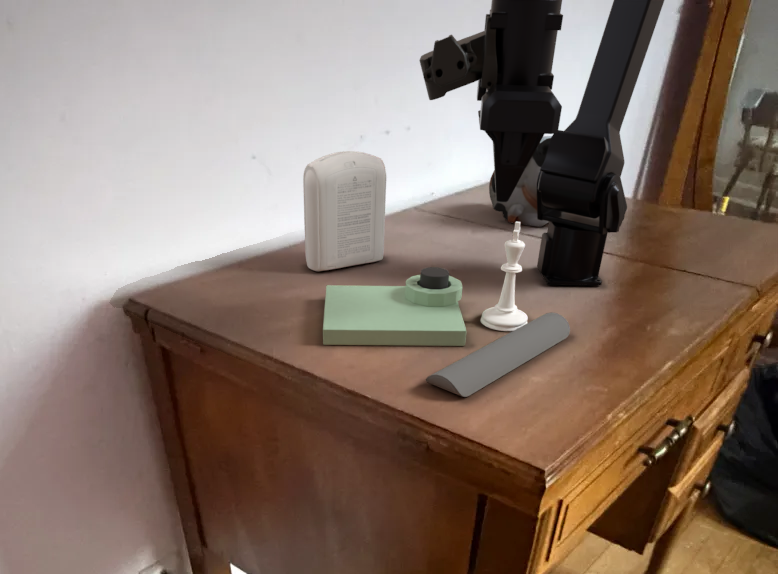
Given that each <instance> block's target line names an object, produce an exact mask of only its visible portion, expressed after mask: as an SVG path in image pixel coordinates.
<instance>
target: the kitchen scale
mask: <svg viewBox="0 0 778 574" xmlns="http://www.w3.org/2000/svg"><path fill="white" fill-rule="evenodd" d="M462 296H463V284H462V281H461V280H459V279H457V278H456V277H454V276H451V275H449V281H448V288H445V289H427V288H423V287H421V286H420V274H417V275H412V276H410V277H408V278H407V279H406V280H405V285H345V284H344V285H341V284H340V285H337V284H336V285H335V284H334V285H332V284H328V285H326V286H325V297H324V298H325V299H324V310H323V322H322V323H323V325H322V343H323V345H324V346H414V347H415V346H420V347H421V346H429V347H465V346H466V341H467V328H466V324H465V322H464V321H465V320H464V318H463V314H462V311H461V308H460V305H459V301H461V300H462Z"/></svg>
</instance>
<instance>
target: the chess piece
mask: <svg viewBox="0 0 778 574" xmlns="http://www.w3.org/2000/svg"><path fill="white" fill-rule="evenodd" d="M521 228H522V227H521V224H520V222H517V221H516V222H515V224H514V229H513V231H512V239H508V240H506V241H505V242H504V250H505V256H506V261H507V262H506V263H503V264H502V265H501V267H500V270H501V271H502V272H505V276H504V281H503V284H502V288H501V293H500V296H499V300H498V303H496V304H495V305H494V306H492V307H489V308H488V307H487V308H486V309H485V310H483V312H481V317H480V323H481V324H482V325H483V326H485V327H486V328H488V329H491V330H494V331H499V332H512V331H514V330H516V329H518V328H520V327H521V326H523V325H525V324H527V323H529V322H528V320H529V317H528V314H527V313H525V312H524V311H523V310H521V309H518V306H517V305H516V304H515V303H516V302H515V299H516V298H515V297H516V291H515V290H516V274H517V273H521V272H522V271H523V266H522V265H521V264H519V260H520V259H521V256H522V254H523V252H524V250H525V247H526V243H525V242H524V241H523V240H520V239H519V237H520V236H519V235H520V232H521Z"/></svg>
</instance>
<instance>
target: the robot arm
mask: <svg viewBox="0 0 778 574" xmlns="http://www.w3.org/2000/svg"><path fill="white" fill-rule="evenodd" d="M664 3H665V0H613V1H612V5H611V8H610V11H609V14H608V17H607V19H606V24H605V27H604V29H603V33H602V36H601V39H600V41H599V42H600V43H599V46H598V48H597V52H596V55H595V57H594V61H593V64H592V68H591V70H590V73H589V77H588V80H587V82H586V86H585V90H584V91H583V96H582V98H581V102H580V105H579V108H578V112H577V114H576V117H575V119H574V120H573V121H572V122H571V123H570V124H568V126H567V127H566V128H565V129H564V130H561V129H559V127H560V121H561V115H562V109H563V106H562V104H561V102H560V101H559V100H558V98H557V96H556V95H555V94H554V93H553V91H552V90H553V84H554V79H555V75H554V74H553V65H554V58H555V51H556V44H557V39H558V38H557V37H558V31H562V26H563V19H564V15H563V13H561V12H562V4H563V0H491V5H490V9H489V13H486V14H485V20H484V30H483V31H480V32H478V33H475V34H472V35H469V36H466V37H464V38H462V39H459V40H457V39H456V38H455V36H454V35H453V34H449V35H448V36H447V37H444V38H442V39H436V40H435V41H434V44H433V48H432V49H433V50H430V51H429V52H426V53H423V54H422V55H421V56H420V58H419V64H420V69H421V72H422V76H423V80H424V85H425V88H426V93H427V97H428V100H429V101H435V100H438V99H440V98H441V99H442V98H443V97H445V96H446V94H447V93H449V92H451V91H454V90H457V89H459V88H462V87H465V86H467V85H470V84H473V83H475V82H477V90H476V101H478V102H479V101H480V110H478V111H477V114H478V124H479V130H480V131H484V133H486V135H487V136H488V138H489V139H490V140H491V142H492V152H493V153H492V154H493V169H494V170H493V172H494V171H495V188H496V200H497V201H498V202H507V201H508V200H509V198H510V197H511V195H512V193H513V191H514V189H515V187H516V185H517V183H518V181H519V180H520V178H521V176H522V174H523V172H524V170H525V168H526V167H527V165H528V163H529V161H530V159H531V157H532V155H533V154H534V152H535V150H536V148H537V147H538V145H539V143H540V141H541V139H542V138H543V137H544V136H545V135H551V136H552V137H551V139H550V143H549V147H548V151H547V155H546V157H545V160H544V163H543V164H542V166H541V168H540V172H539V175H538V179H537V219H538V220H545V221H549V222H548V223H547V224H548V225H547V231H546V232H543V233H542V234H541V239H540V246H539V251H538V258H537V264H536V268H537V270H538V272H539V273H540V274H541V276H542V278H543V280H544V281H545V283H546V285H549V286H597V287H598V286H602V284H603V280H602V279H601V277H600V276H599V275H600V270H601V266H602V260H603V256H604V251H605V247H606V242H607V238H608V233H618V232H620V229H621V228H620V227H622V224H623V221H625V217H626V213H627V210H628V203H627V200H626V196H625V191H624V187H623V183H622V179H621V178H622V174H623V170H624V166H625V156H624V151H623V145H622V139H621V134H620V133H621V129H622V126H623V124H624V123H623V122H624V120H625V116H626V114H627V111H628V109H629V105H630V102H631V99H632V97H633V94H634V91H635V88H636V84H637V82H638V79H639V76H640V73H641V71H642V68H643V64H644V61H645V58H646V55H647V53H648V50H649V46H650V44H651V41H652V38H653V35H654V32H655V29H656V27H657V23H658V20H659V18H660V15H661V12H662V9H663V6H664Z"/></svg>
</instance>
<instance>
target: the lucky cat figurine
mask: <svg viewBox="0 0 778 574" xmlns="http://www.w3.org/2000/svg"><path fill="white" fill-rule="evenodd" d="M552 136H553V135H544V136H543V138H542V139H541V141H540V143H539V145H538V147H537V148H536V150H535V152H534V154H533V155H532V157H531V159H530V161H529V163H528V165H527V167H526V168H525V170H524V172H523V174H522V176H521V178H520V180H519V181H518V183H517V185H516V187H515V189H514V191H513V193H512V195H511V197H510V198H509V200H508V201H507V202H498V201H497V200H496V188H495V171H494V170H493V172H492V174H491V177H490V180H489V184H488V193H489V199H490V201H491V206H492V208H493V210H495V212H500V213H501V214H502V216H503V219H504V221H506V222H507V223H510V224H514V225H515V222H516V221H517V222H520V226H529V227H537V228H541V227H543V226H545V225H546V224H549V221H545V220H538V219H537V179H538V175H539V172H540V168H541V166H542V164H543V163H544V160H545V157H546V155H547V151H548V147H549V143H550V139H551V137H552Z"/></svg>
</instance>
